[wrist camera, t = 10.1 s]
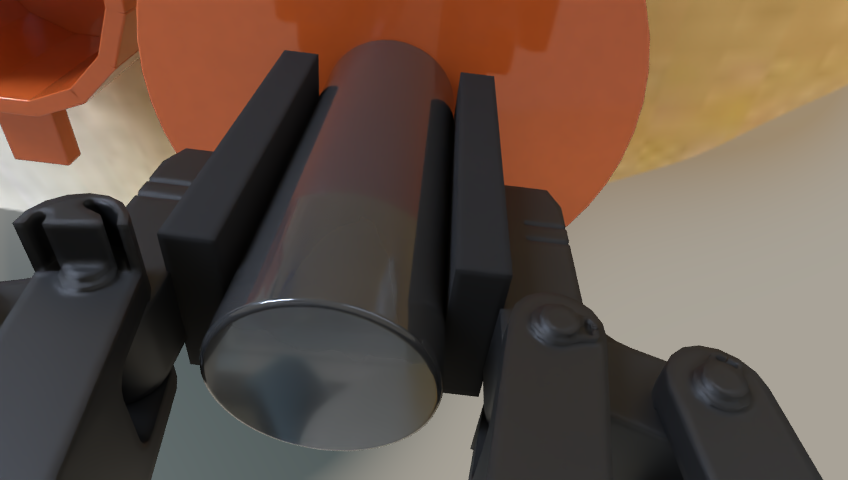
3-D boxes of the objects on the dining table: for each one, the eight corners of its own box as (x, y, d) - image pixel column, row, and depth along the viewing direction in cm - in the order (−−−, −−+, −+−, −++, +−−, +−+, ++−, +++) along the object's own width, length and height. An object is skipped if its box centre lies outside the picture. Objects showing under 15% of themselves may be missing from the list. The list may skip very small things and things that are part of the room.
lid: (197, 235, 19) (15, 538, 11) (99, -261, 11) (-767, -377, 3) (563, 278, 19) (628, 604, 11) (729, -175, 11) (1303, -98, 3)
